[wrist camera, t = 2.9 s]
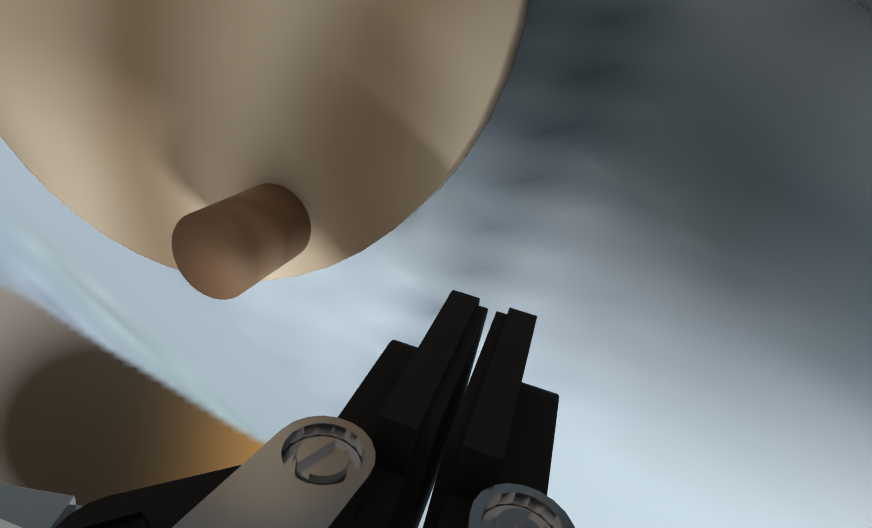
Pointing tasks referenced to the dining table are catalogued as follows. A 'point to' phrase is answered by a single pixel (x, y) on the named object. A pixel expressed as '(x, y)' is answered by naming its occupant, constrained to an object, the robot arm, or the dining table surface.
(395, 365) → the robot arm
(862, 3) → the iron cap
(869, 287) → the dining table surface
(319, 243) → the turntable
